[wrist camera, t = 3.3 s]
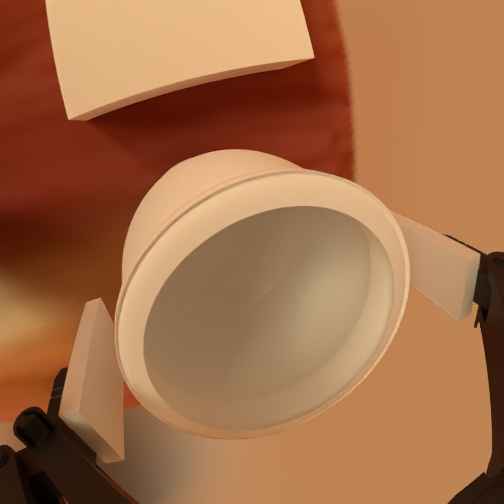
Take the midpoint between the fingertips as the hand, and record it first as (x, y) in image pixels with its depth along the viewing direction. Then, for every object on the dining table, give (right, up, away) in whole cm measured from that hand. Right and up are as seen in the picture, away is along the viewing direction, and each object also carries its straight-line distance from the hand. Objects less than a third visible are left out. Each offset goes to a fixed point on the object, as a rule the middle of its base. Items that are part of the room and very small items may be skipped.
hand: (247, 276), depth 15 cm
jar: (-3, +4, +9) cm, 10 cm away
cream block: (-6, +18, +2) cm, 19 cm away
